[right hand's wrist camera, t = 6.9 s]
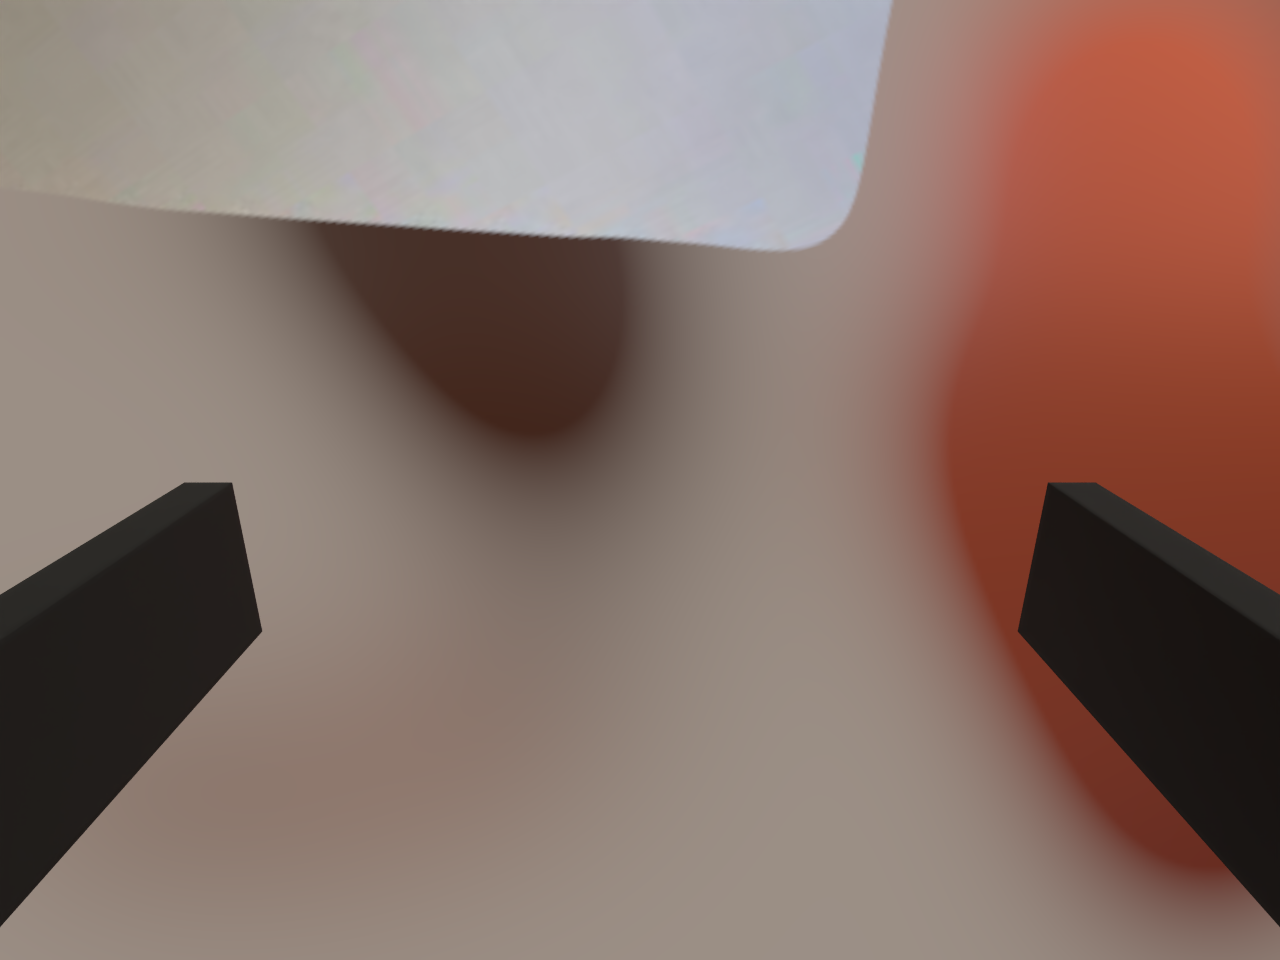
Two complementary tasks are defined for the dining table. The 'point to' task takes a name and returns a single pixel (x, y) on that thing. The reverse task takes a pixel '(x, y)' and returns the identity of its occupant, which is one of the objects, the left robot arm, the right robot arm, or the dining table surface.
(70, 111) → the dining table surface
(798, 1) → the dining table surface
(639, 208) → the dining table surface
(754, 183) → the dining table surface
